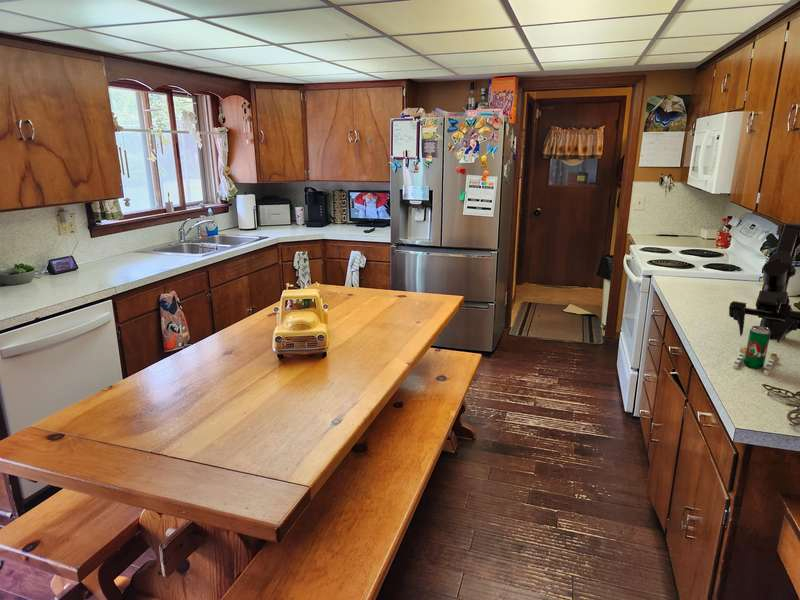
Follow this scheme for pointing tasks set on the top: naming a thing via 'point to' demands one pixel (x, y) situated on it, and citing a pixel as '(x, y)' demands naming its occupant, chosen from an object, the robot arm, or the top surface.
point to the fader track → (744, 356)
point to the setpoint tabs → (773, 356)
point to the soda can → (757, 347)
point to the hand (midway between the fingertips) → (759, 338)
